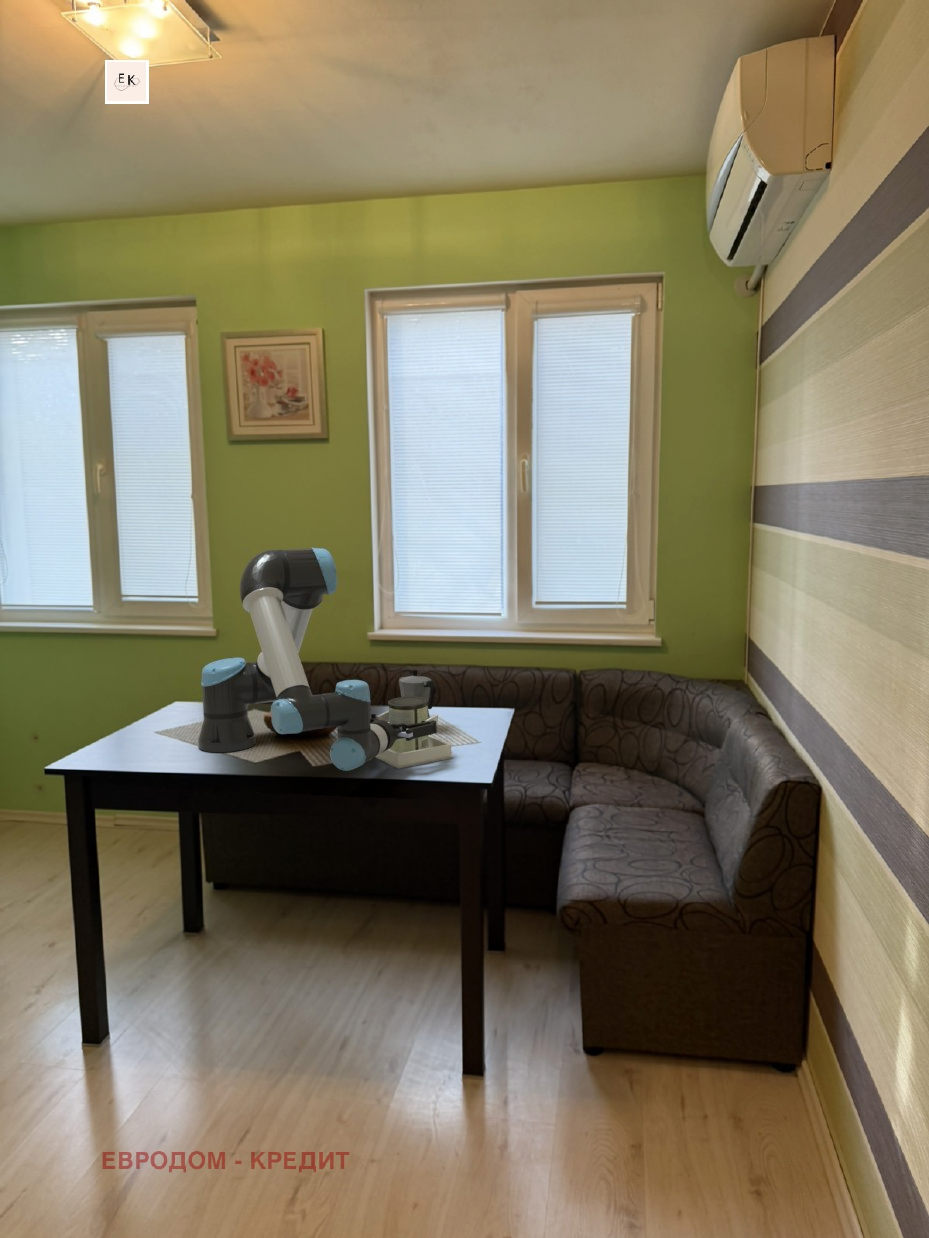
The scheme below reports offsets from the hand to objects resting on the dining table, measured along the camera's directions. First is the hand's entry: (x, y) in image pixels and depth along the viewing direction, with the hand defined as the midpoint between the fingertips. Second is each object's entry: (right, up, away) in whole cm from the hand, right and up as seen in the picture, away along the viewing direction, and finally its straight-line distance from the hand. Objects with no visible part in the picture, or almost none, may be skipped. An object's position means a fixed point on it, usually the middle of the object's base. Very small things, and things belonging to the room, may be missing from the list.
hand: (412, 717), depth 221 cm
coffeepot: (0, -7, +24) cm, 24 cm away
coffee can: (-1, -10, -1) cm, 10 cm away
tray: (-1, -10, -1) cm, 10 cm away
